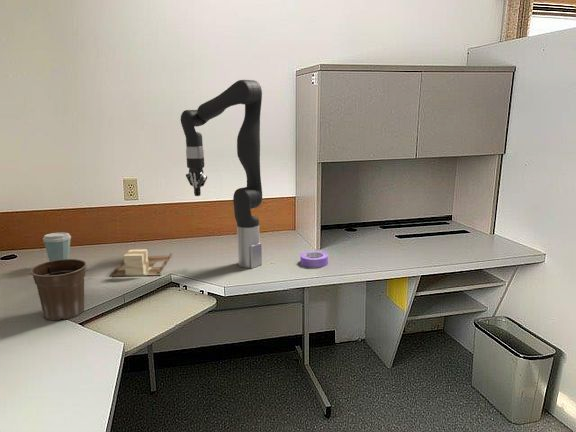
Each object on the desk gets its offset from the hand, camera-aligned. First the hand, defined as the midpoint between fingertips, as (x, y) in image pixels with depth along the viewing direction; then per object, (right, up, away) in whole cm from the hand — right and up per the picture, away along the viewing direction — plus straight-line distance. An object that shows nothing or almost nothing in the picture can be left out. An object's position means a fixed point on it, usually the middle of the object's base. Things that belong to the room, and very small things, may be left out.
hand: (197, 195), depth 206 cm
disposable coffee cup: (-56, -31, -9) cm, 65 cm away
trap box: (-21, -31, -11) cm, 38 cm away
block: (-21, -31, -19) cm, 42 cm away
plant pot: (-33, -41, -53) cm, 75 cm away
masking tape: (+51, -29, -8) cm, 60 cm away
